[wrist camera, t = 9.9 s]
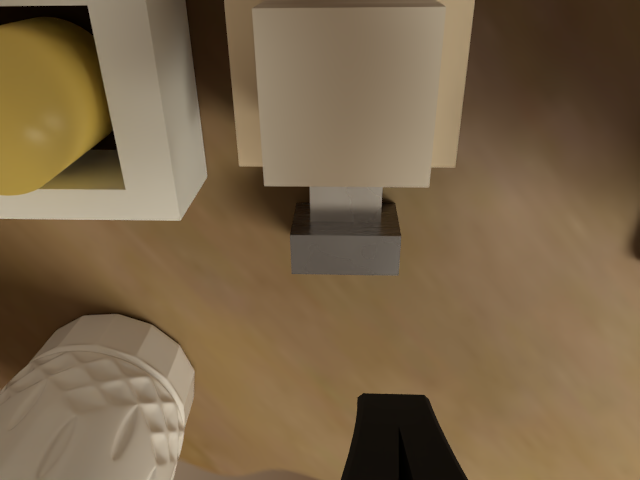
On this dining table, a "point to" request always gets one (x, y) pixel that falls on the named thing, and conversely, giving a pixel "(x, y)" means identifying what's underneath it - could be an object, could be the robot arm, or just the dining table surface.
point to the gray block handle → (345, 233)
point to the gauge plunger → (47, 101)
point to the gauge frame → (132, 121)
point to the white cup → (97, 404)
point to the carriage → (348, 88)
